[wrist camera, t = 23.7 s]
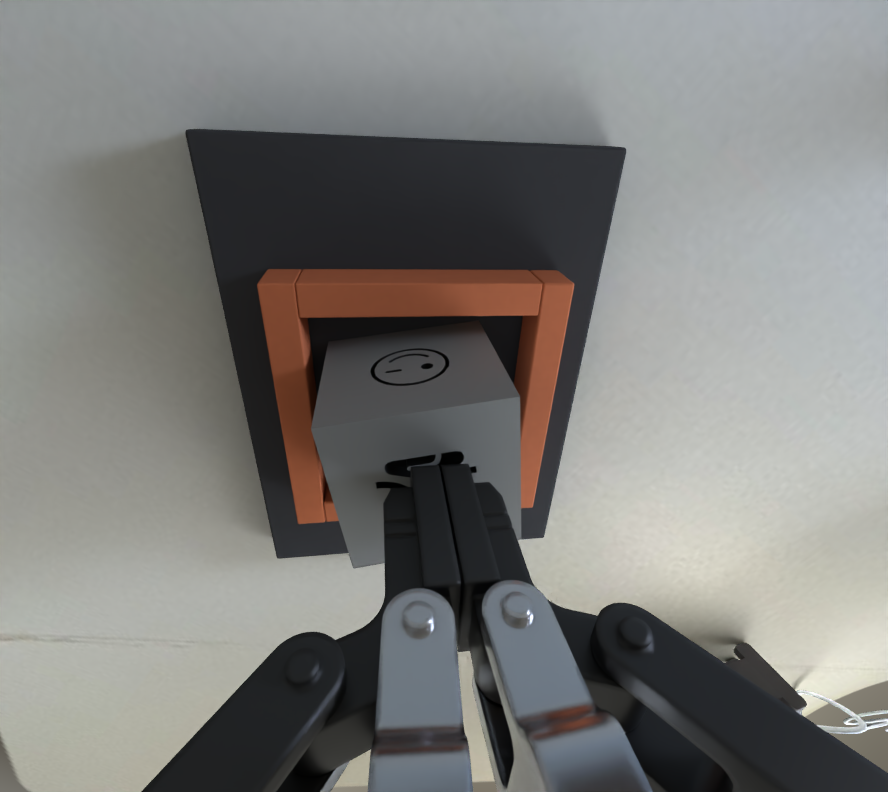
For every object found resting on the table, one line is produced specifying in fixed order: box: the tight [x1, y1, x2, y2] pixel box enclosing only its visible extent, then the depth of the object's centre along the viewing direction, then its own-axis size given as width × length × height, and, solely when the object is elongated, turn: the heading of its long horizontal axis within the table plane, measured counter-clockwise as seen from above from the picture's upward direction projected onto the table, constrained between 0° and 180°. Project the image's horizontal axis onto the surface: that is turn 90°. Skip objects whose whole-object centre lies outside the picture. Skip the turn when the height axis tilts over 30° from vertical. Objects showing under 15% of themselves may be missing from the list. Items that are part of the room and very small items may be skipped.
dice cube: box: [311, 320, 521, 568], centre depth 14 cm, size 5×5×5 cm
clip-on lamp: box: [725, 643, 867, 734], centre depth 32 cm, size 12×6×18 cm
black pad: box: [186, 129, 626, 558], centre depth 16 cm, size 12×16×2 cm
